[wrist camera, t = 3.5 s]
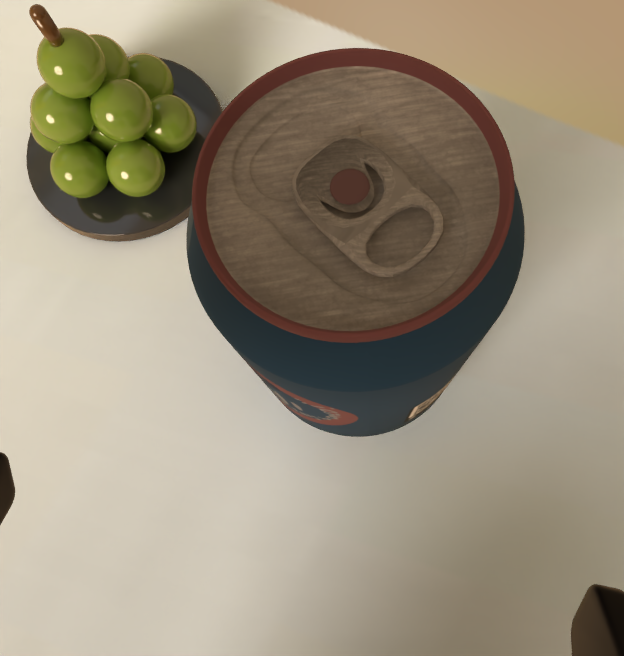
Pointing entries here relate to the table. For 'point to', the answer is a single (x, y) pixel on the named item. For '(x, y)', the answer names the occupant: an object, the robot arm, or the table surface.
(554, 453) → the table surface
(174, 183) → the grapes
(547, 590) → the table surface
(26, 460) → the table surface
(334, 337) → the soda can
